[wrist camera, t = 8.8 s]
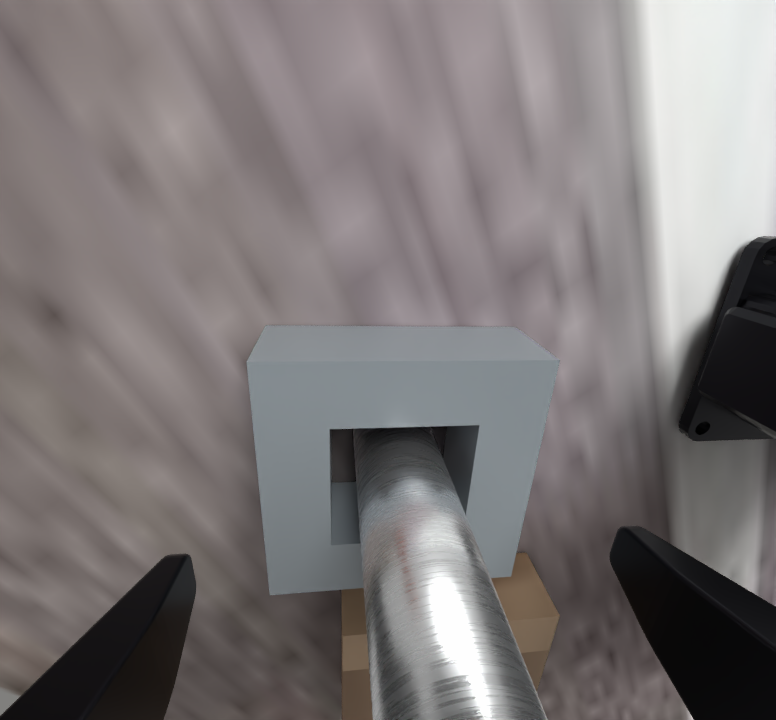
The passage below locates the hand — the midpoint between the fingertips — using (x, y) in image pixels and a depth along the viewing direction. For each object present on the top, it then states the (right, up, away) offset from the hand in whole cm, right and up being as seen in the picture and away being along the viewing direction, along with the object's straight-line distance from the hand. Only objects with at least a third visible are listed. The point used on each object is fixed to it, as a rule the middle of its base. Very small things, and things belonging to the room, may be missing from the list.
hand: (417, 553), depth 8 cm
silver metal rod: (0, +2, +4) cm, 4 cm away
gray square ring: (-1, +2, +4) cm, 4 cm away
